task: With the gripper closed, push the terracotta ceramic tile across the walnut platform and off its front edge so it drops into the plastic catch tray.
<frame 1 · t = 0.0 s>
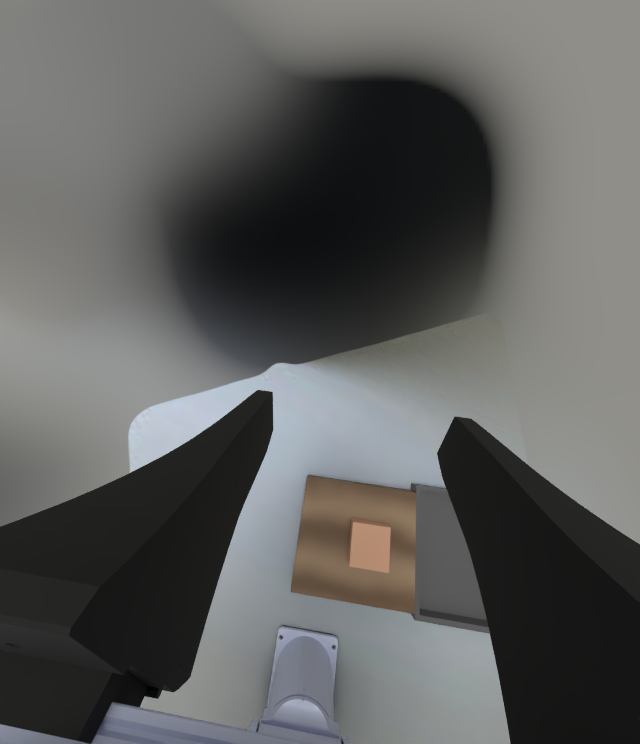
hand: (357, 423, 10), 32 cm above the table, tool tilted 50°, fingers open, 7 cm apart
catch tray: (454, 549, 36), on the table
tile: (367, 541, 34), point 3 cm above the table, touching platform
platform: (354, 533, 37), on the table
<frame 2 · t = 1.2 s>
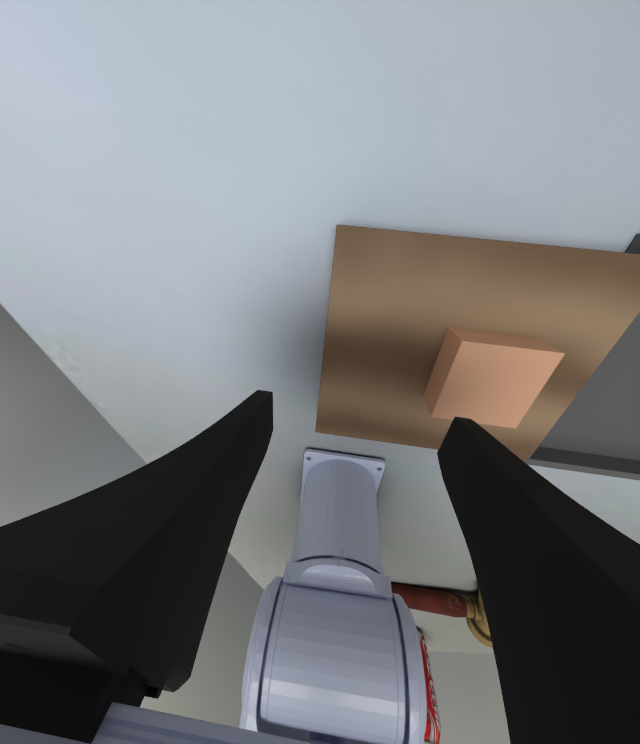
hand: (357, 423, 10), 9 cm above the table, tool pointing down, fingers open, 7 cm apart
tile: (475, 370, 15), point 3 cm above the table, touching platform
platform: (436, 347, 18), on the table
gavel: (425, 583, 37), on the table
soda can: (403, 628, 46), on the table
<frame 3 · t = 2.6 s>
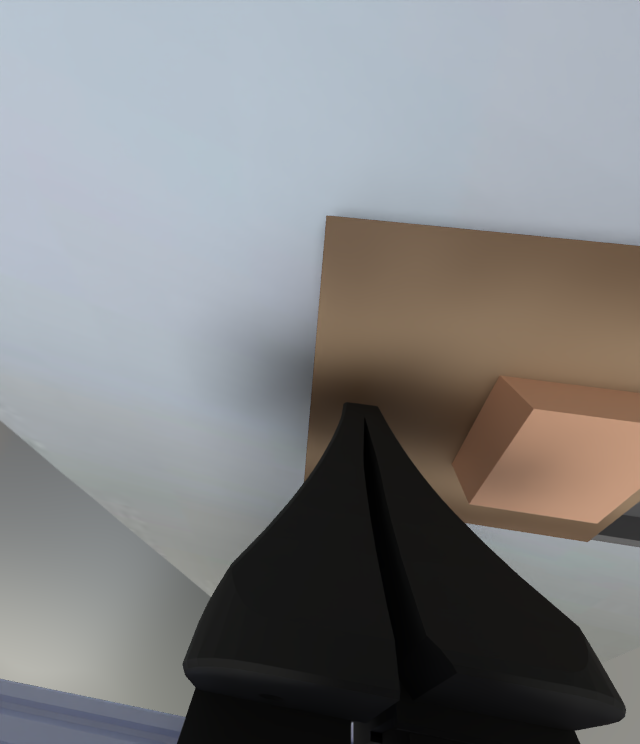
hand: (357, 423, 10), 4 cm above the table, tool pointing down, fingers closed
tile: (533, 433, 10), point 3 cm above the table, touching platform
platform: (467, 388, 13), on the table
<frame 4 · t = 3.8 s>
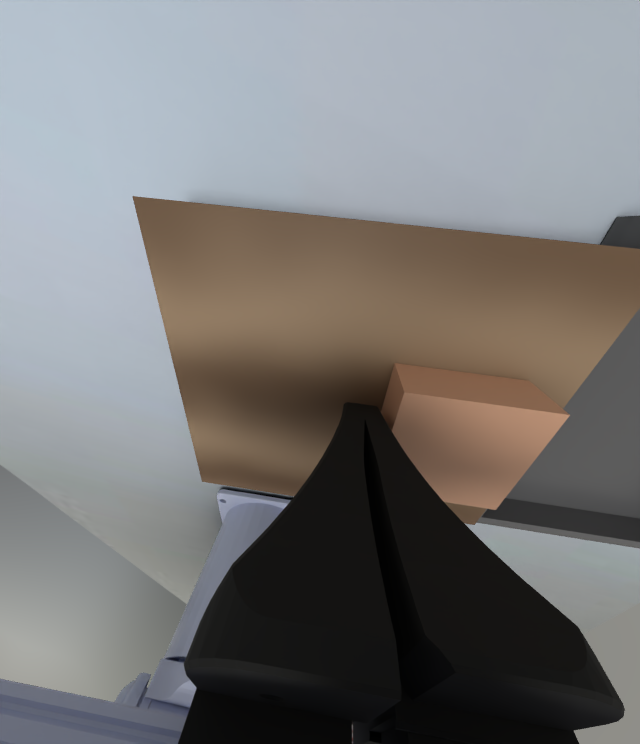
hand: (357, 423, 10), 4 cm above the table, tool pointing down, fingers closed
catch tray: (636, 412, 13), on the table
tile: (438, 421, 11), point 3 cm above the table
platform: (353, 374, 13), on the table
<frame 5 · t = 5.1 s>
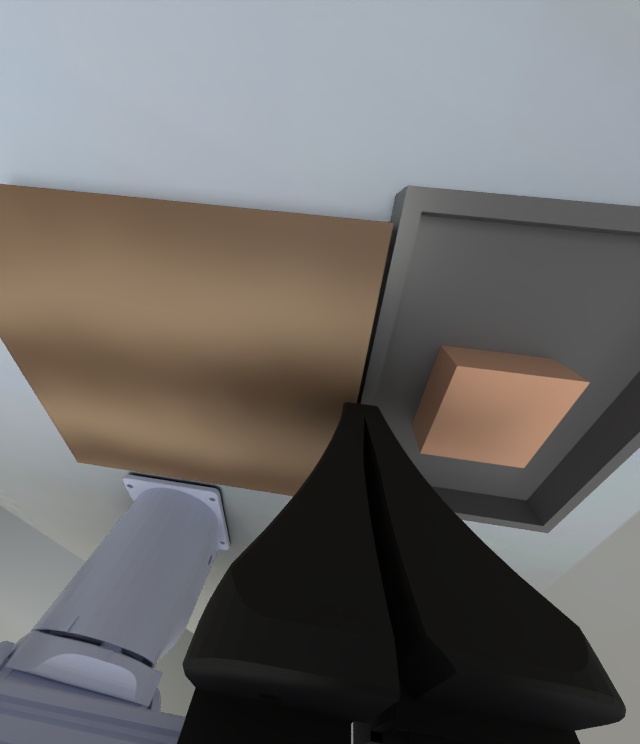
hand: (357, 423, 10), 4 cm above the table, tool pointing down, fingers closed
catch tray: (479, 390, 13), on the table
tile: (494, 422, 11), point 3 cm above the table, tilted 180°, touching catch tray
platform: (211, 355, 14), on the table
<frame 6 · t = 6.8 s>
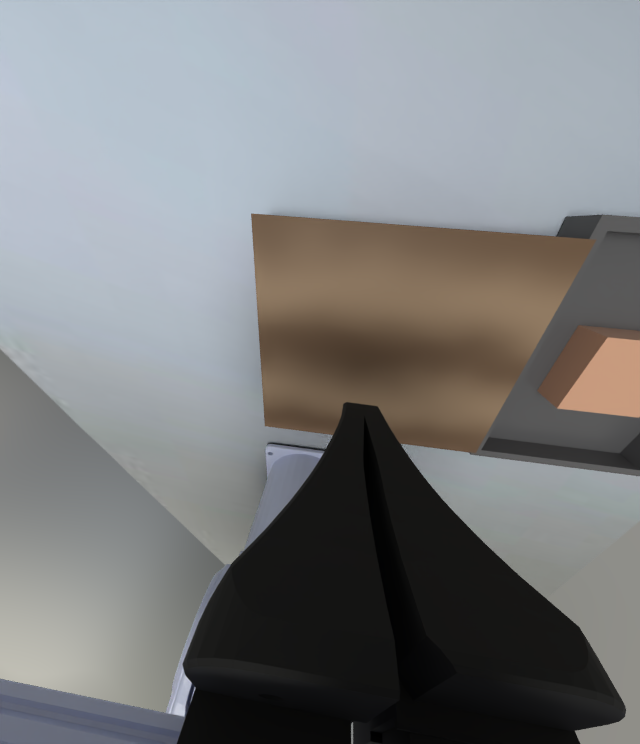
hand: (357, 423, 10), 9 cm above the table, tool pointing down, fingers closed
catch tray: (596, 361, 17), on the table
tile: (624, 380, 15), point 3 cm above the table, tilted 180°, touching catch tray
platform: (381, 339, 18), on the table
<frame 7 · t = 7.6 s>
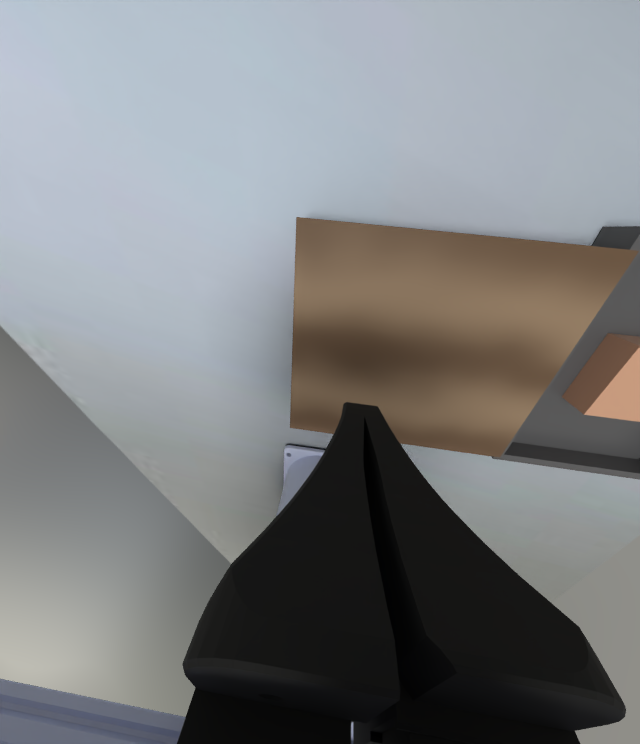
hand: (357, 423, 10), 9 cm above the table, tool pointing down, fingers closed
catch tray: (621, 368, 17), on the table
platform: (409, 343, 18), on the table
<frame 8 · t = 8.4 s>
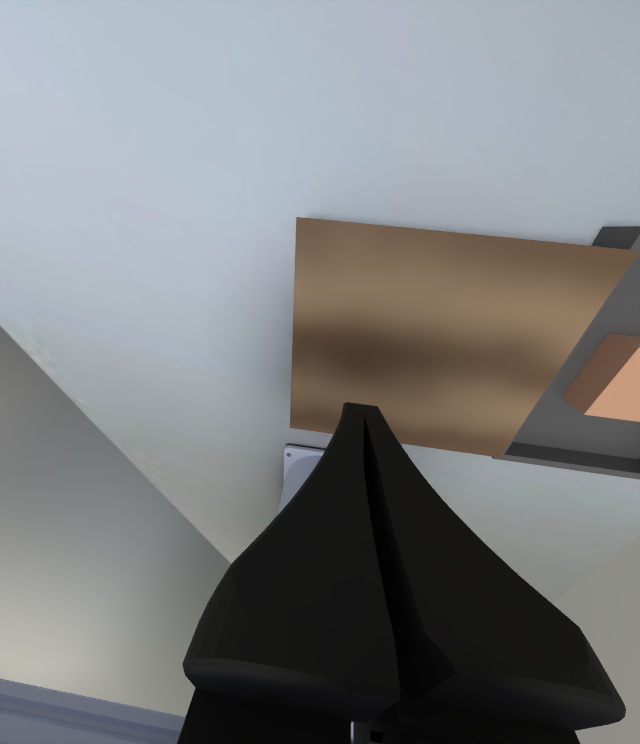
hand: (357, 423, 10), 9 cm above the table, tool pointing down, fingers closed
catch tray: (621, 368, 17), on the table
platform: (409, 343, 18), on the table
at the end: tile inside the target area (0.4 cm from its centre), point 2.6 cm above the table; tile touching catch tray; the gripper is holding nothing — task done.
